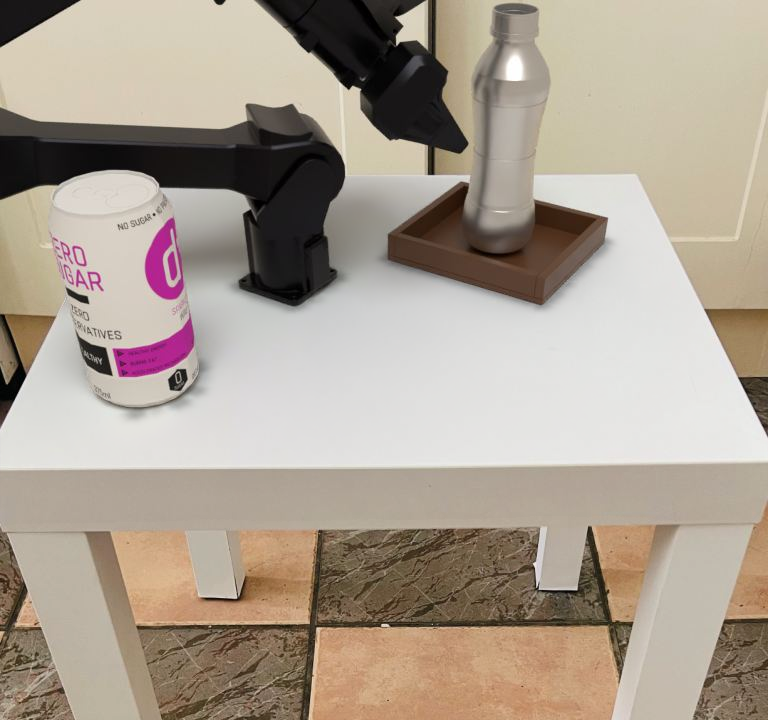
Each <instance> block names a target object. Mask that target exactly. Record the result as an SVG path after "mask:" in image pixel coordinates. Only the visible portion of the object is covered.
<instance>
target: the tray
mask: <svg viewBox="0 0 768 720" xmlns="http://www.w3.org/2000/svg"><path fill="white" fill-rule="evenodd" d="M469 183H470V182H466V181H462V180H461V181H459V182H458V183H456V184H454V186H452V187H451V188H449V189H448V190H447V191H445V192H444V193H443V194H441V195H440V196H438V197H437V198H435V199H434V200H433V201H431V202H430V203H428V205H426V206H424V207H423V208H422V209H421V210H419V211H418V212H416V213H415V214H413V215H412V216H410V217H409V218H408V219H407V220H405V221H404V222H402V223H401V224H399V225H398V226H397V227H395V228H394V229H392V230H391V231H390V232H389V233H387V260H388V261H393V262H396V263H399V264H403V265H406V266H409V267H413V268H416V269H419V270H423V271H427V272H430V273H432V274H436V275H440V276H443V277H446V278H449V279H452V280H457V281H459V282H463V283H466V284H470V285H474V286H477V287H480V288H484V289H486V290H490V291H493V292H497V293H500V294H504V295H507V296H510V297H514V298H516V299H520V300H522V301H527V302H530V303H533V304H537V305H539V306H543V304H545V303H546V302H547V301H548V300H549V299H550V298H551V297H552V296H553V295H554V293H556V292H557V290H559V288H561V287H562V286H563V285H564V284H565V283H566V281H567V280H569V279H570V277H572V276H573V275H574V273H576V272H577V271H578V269H579V268H581V266H582V265H583V264H585V262H587V260H588V259H590V258H591V257H592V256H593V255H594V254H595V252H597V251H598V249H599V248H601V247H602V245H604V243H605V241H606V234H607V228H608V222H609V217H607V216H603V215H599V214H595V213H591V212H587V211H583V210H579V209H575V208H572V207H567V206H563V205H559V204H555V203H550V202H547V201H543V200H539V199H535V198H534V204H535V225H534V228H533V232H532V235H531V238H530V240H529V241H528V242H527V243H526V244H525V245H524V246H523V247H522V248H521V249H519V250H517V251H514V252H510V253H489V252H484V251H481V250H478V249H476V248H474V247H473V246H471V245H470V244H469V242H468V241H467V239H466V237H465V236H464V233H463V226H462V214H463V208H464V203H465V199H466V196H467V194H468V189H469Z"/></svg>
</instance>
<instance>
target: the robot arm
mask: <svg viewBox="0 0 768 720" xmlns="http://www.w3.org/2000/svg"><path fill="white" fill-rule="evenodd" d="M81 1H82V0H0V49H1V48H2V47H4V46H6V45H8V44H9V43H11V42H12V41H15V40H16V39H18V38H19V37H21V36H23V35H25V34H26V33H28V32H30V31H31V30H33V29H35V28H36V27H38V26H40V25H42V24H43V23H45V22H47V21H49V20H50V19H52V18H54V17H55V16H57V15H59V14H60V13H62V12H64V11H65V10H67V9H69V8H71V7H72V6H74V5H76V4H77V3H79V2H81ZM226 1H227V0H213V2H214V3H215V5H217V6H223V5H224V4H225V3H226ZM253 1H254V2H255V3H256V4H257V5H259V6H260V7H261V9H263V10H264V11H265V12H266V13H267V15H269V16H270V17H271V18H273V19H274V20H275V21H276V22H277V23H278V24H279V25H280V26H281V27H282V29H284V30H285V31H286V32H288V34H290V35H291V37H293V39H294V40H295V42H296V43H297V44H298V45H299V46H300V47H301V48H302V50H304V51H305V52H306V53H308V54H311V55H313V56H314V58H315V59H316V60H318V61H319V63H321V64H322V65H323V66H324V67H326V68H327V70H329V71H330V72H331V73H332V74H333V76H334V77H335V78H336V80H337V81H338V82H339V84H341V86H343V87H344V88H345V89H346V90H347V91H350V90H351V89H352V87H354V88H357V89H359V106H360V109H359V110H360V111H361V112H362V114H364V116H365V117H366V119H367V120H368V121H369V123H370V124H371V125H372V126H373V127H374V128H375V129H376V130H377V131H378V132H380V134H381V135H383V136H384V137H385V138H386V139H387V140H388V141H390V142H392V141H393V140H394V141H398V140H403V141H406V142H410V143H411V142H412V143H414V144H415V143H416V144H420V145H424V146H428V147H432V148H435V149H439V150H443V151H446V152H450V153H454V154H457V155H460V154H463V152H465V150H466V149H467V147H468V146H469V141H468V139H467V137H466V136H465V134H464V132H463V130H462V129H461V127H460V126H459V124H458V123H457V121H456V120H455V118H454V116H453V115H452V112H451V111H450V109H449V108H448V106H447V104H446V103H445V101H444V99H443V91H444V88H445V87H446V84H447V82H448V75H449V72H450V71H449V70H448V69H447V68H446V67H445V66H444V65H443V64H442V63H441V62H440V60H439V59H437V57H436V56H434V54H433V53H432V52H431V51H429V50H428V49H427V48H426V47H425V46H424V45H423V44H422V43H421V42H420V41H418V40H417V39H415V40H405V41H399V42H398V44H397V36H398V34H400V32H401V31H402V29H403V28H404V27H405V26H404V24H403V23H401V21H400V20H398V17H401V16H403V15H405V14H407V13H408V12H410V11H412V10H413V9H415V8H417V7H418V6H419V5H421V4H423V3H425V2H426V1H427V0H253ZM244 105H245V106H244V108H245V115H246V120H244V121H242V122H240V123H237V124H234V125H232V126H229V127H225V128H208V127H207V128H204V127H185V126H183V127H181V126H177V127H176V126H161V125H160V126H159V125H157V126H156V125H137V124H136V125H135V124H130V125H129V124H113V123H112V124H111V123H88V122H66V121H65V122H63V121H41V120H36V119H32V118H29V117H26V116H24V115H22V114H18V113H16V112H13V111H11V110H8V109H5V108H2V107H1V106H0V201H2V200H5V199H8V198H10V197H13V196H16V195H19V194H21V193H25V192H28V191H30V190H33V189H36V188H39V187H47V186H53V187H58V186H59V185H60V184H61V183H63V182H65V181H68V180H70V179H72V178H74V177H77V176H81V175H84V174H88V173H92V172H99V171H107V170H128V171H134V172H140V173H144V174H146V175H148V176H151V177H153V178H154V179H155V180H156V181H157V183H158V184H159V188H160V189H189V190H190V189H192V190H225V191H226V190H228V191H232V192H235V193H238V194H240V195H243V196H244V197H245V200H246V202H247V205H248V206H249V209H248V210H246V211H244V212H243V213H242V221H243V228H244V237H245V246H246V254H247V263H248V269H249V270H248V273H247V274H245V275H244V276H243V277H241V278H239V279H238V281H237V283H238V287H239V288H242V289H245V290H247V291H251V292H253V293H256V294H259V295H262V296H265V297H268V298H271V299H274V300H277V301H280V302H283V303H286V304H289V305H292V306H296V305H297V306H298V305H300V304H301V303H302V302H304V301H305V300H306V299H308V298H309V297H310V296H312V295H313V294H314V293H316V292H317V291H319V290H320V289H321V288H323V287H324V286H326V285H327V284H329V282H331V281H332V280H334V279H335V278H337V276H338V270H337V269H336V268H334V267H330V250H329V249H330V248H329V238H328V236H327V235H326V234H325V222H326V217H327V215H328V212H329V208H330V206H331V203H332V201H334V200H335V199H336V198H338V196H339V194H340V193H341V191H342V189H343V188H344V184H345V180H346V164H345V162H344V159H343V156H342V154H341V153H340V151H339V150H338V149H337V147H336V146H335V144H334V143H333V142H332V140H331V139H330V137H329V136H328V135H327V133H326V132H325V130H324V129H323V127H322V126H321V125H320V123H318V121H317V120H315V119H314V117H312V116H310V115H308V114H306V113H302V112H299V111H298V109H297V107H296V106H295V104H294V103H289V104H286V105H284V106H276V107H275V106H274V107H271V106H266V105H262V104H257V103H250V102H248V103H245V104H244Z"/></svg>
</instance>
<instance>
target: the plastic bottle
mask: <svg viewBox="0 0 768 720" xmlns="http://www.w3.org/2000/svg"><path fill="white" fill-rule="evenodd" d="M539 21H540V9H539V7H538V6H537V5H533V4H529V3H523V2H505V3H499V4H495V5H494V6H493V7H492V10H491V25H490V26H489V35H490V36H492V41H491V42H490V44H489V45H488V46H487V48H486V49H485V50H484V52H483V53H482V54H481V55H480V57H479V58H478V61H477V62H476V64H475V65H474V68H473V72H472V74H471V77H470V91H471V93H470V94H471V107H472V120H473V122H472V123H473V135H472V141H473V142H472V143H473V147H472V164H471V169H470V177H469V182H468V183H469V189H468V194H467V196H466V199H465V203H464V208H463V214H462V226H463V233H464V236H465V237H466V239H467V241H468V242H469V244H470V245H471V246H473V247H474V248H476V249H478V250H481V251H484V252H489V253H510V252H514V251H517V250H519V249H521V248H522V247H523V246H524V245H525V244H526V243H527V242H528V241H529V240H530V238H531V235H532V232H533V228H534V225H535V204H534V199H535V198H534V187H535V185H534V183H535V181H534V180H535V160H536V155H537V146H538V142H539V137H540V136H539V135H540V130H541V126H542V121H543V118H544V114H545V110H546V107H547V102H548V99H549V97H548V96H549V94H550V89H551V84H552V79H551V73H550V68H549V66H548V64H547V62H546V60H545V58H544V56H543V54H542V52H541V51H540V49H539V47H538V46H537V44H536V38H538V37H539V35H540V27H539V23H540V22H539Z"/></svg>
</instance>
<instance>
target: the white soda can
mask: <svg viewBox="0 0 768 720" xmlns="http://www.w3.org/2000/svg"><path fill="white" fill-rule="evenodd" d="M49 200H50V203H51V204H50V208H49V211H48V215H47V218H46V227H47V230H48V234H49V238H50V242H51V246H52V248H53V253H54V256H55V260H56V264H57V267H58V272H59V276H60V279H61V283H62V287H63V290H64V294H65V297H66V301H67V305H68V309H69V311H70V316H71V320H72V323H73V327H74V331H75V334H76V339H77V342H78V346H79V349H80V352H81V357H82V360H83V364H84V365H83V366H84V368H85V371H86V376H87V379H88V383H89V385H90V387H91V389H92V390H93V391H92V392H94V393H95V394H96V395H98V396H99V397H100V398H102V399H104V400H105V401H108V402H111V404H113V405H116V406H117V405H118V406H121V407H126V408H147V407H155V406H158V405H162V404H164V403H165V404H166V403H167V402H169V401H173V400H174V399H177V398H178V397H179V396H180V395H182V394H183V393H184V392H186V391H187V390H188V389H189V387H190V386H191V385H192V384H194V381H195V380H196V379H197V376H198V375H199V371H200V370H199V366H200V362H199V357H198V350H197V344H196V339H195V338H196V337H195V333H194V327H193V321H192V316H191V309H190V303H189V297H188V291H187V285H186V279H185V274H184V267H183V262H182V256H181V250H180V244H179V243H180V242H179V239H178V233H177V227H176V220H175V215H174V209H173V204H172V203H171V201H170V200H169V199H168V197H167V196H166V195H165V193H163V191H162V190H161V188H159V184H158V183H157V181H156V180H155V179H154V178H153V177H151V176H148V175H146V174H144V173H140V172H134V171H128V170H107V171H99V172H92V173H88V174H84V175H81V176H77V177H74V178H72V179H70V180H68V181H65V182H63V183H61V184H60V185H59V186H56V188H55V189H53V190H52V192H51V195H50V197H49Z"/></svg>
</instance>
